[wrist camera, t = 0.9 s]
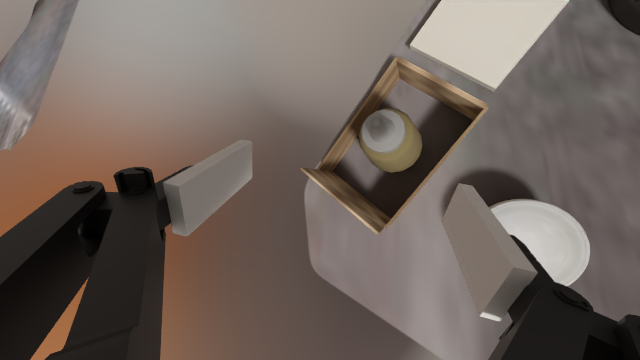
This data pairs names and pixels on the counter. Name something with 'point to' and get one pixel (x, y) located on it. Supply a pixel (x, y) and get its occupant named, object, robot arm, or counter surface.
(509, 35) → the cutting board
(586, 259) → the ramekin
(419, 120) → the counter surface
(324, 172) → the wooden box
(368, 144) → the squeeze bottle
